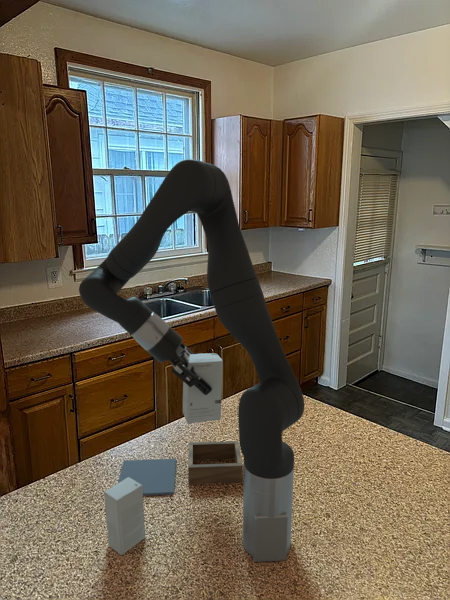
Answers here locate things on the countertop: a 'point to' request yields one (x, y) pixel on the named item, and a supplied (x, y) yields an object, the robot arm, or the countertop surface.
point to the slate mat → (151, 475)
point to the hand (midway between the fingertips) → (208, 384)
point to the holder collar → (214, 471)
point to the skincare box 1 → (124, 515)
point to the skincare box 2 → (194, 400)
